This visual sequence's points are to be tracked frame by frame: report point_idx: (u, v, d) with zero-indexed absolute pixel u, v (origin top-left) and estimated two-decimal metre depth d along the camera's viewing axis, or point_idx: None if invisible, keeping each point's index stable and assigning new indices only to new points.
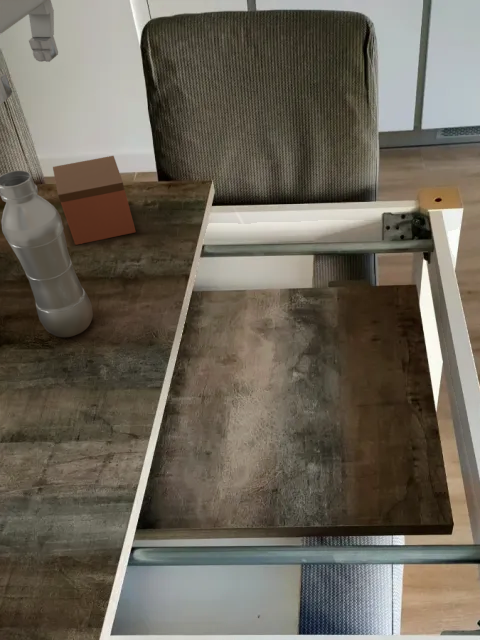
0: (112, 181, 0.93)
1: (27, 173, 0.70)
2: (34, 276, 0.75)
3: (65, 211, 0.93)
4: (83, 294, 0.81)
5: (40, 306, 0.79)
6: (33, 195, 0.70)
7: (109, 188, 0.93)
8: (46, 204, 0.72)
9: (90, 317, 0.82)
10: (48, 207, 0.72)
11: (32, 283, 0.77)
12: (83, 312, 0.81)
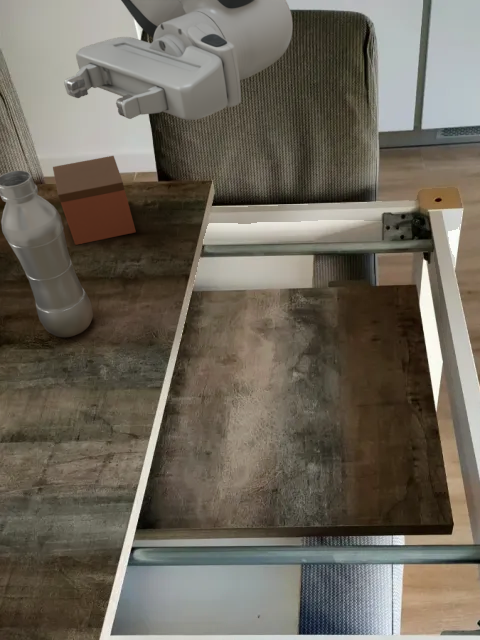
0: (112, 181, 0.93)
1: (27, 173, 0.70)
2: (34, 276, 0.75)
3: (65, 211, 0.93)
4: (83, 294, 0.81)
5: (40, 306, 0.79)
6: (33, 195, 0.70)
7: (109, 188, 0.93)
8: (46, 204, 0.72)
9: (90, 317, 0.82)
10: (48, 207, 0.72)
11: (32, 283, 0.77)
12: (83, 312, 0.81)
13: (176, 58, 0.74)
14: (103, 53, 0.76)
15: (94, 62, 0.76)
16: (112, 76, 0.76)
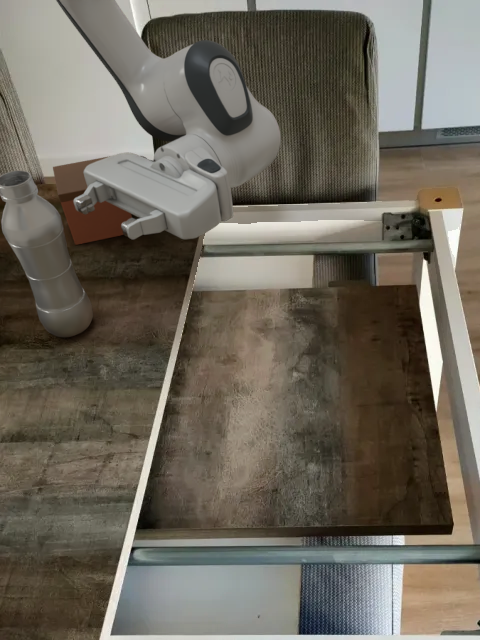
0: None
1: (27, 173, 0.70)
2: (34, 276, 0.75)
3: (65, 211, 0.93)
4: (83, 294, 0.81)
5: (40, 306, 0.79)
6: (33, 195, 0.70)
7: None
8: (46, 204, 0.72)
9: (90, 317, 0.82)
10: (48, 207, 0.72)
11: (32, 283, 0.77)
12: (83, 312, 0.81)
13: (175, 179, 0.83)
14: (109, 172, 0.84)
15: (100, 180, 0.84)
16: (116, 193, 0.85)
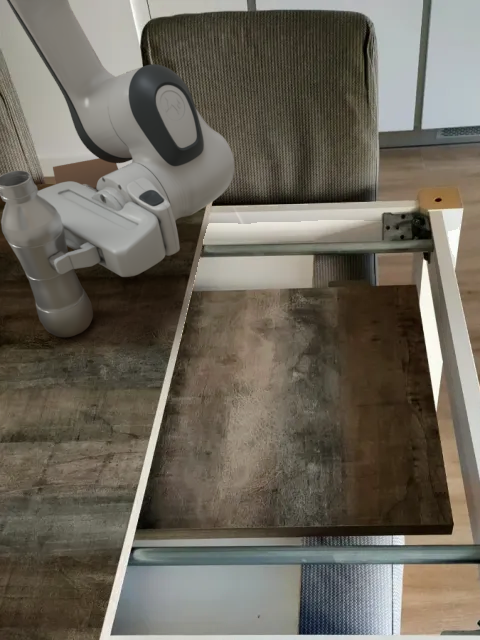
0: None
1: (27, 173, 0.70)
2: (34, 276, 0.75)
3: None
4: (83, 294, 0.81)
5: (40, 306, 0.79)
6: (33, 195, 0.70)
7: None
8: (46, 204, 0.72)
9: (90, 317, 0.82)
10: (48, 207, 0.72)
11: (32, 283, 0.77)
12: (83, 312, 0.81)
13: (116, 212, 0.78)
14: None
15: None
16: None
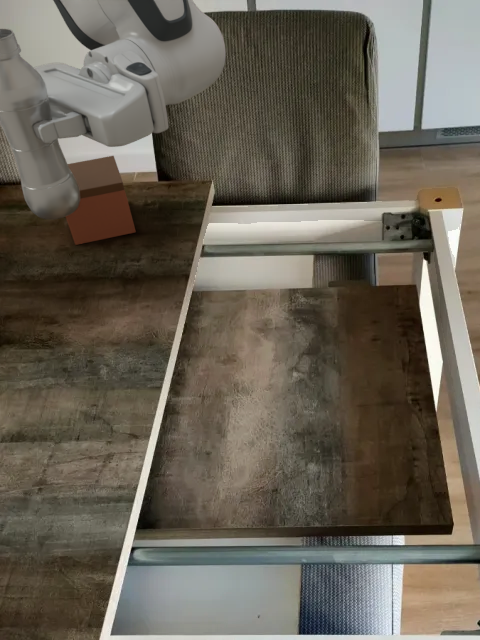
0: (112, 181, 0.93)
1: (9, 31, 0.68)
2: (18, 147, 0.73)
3: None
4: (70, 174, 0.79)
5: (25, 183, 0.77)
6: (15, 53, 0.68)
7: (109, 188, 0.93)
8: (30, 66, 0.70)
9: (77, 199, 0.80)
10: (31, 70, 0.70)
11: (17, 156, 0.75)
12: (69, 192, 0.79)
13: (103, 85, 0.76)
14: None
15: None
16: None
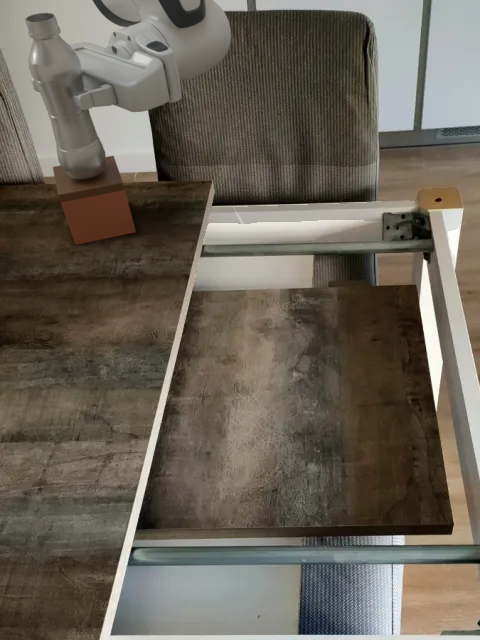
0: (112, 181, 0.93)
1: (51, 15, 0.81)
2: (56, 114, 0.86)
3: (65, 211, 0.93)
4: (98, 139, 0.92)
5: (60, 146, 0.90)
6: (56, 33, 0.81)
7: (109, 188, 0.93)
8: (67, 45, 0.83)
9: (104, 162, 0.93)
10: (69, 48, 0.83)
11: (54, 122, 0.87)
12: (98, 155, 0.92)
13: (126, 61, 0.89)
14: None
15: None
16: None
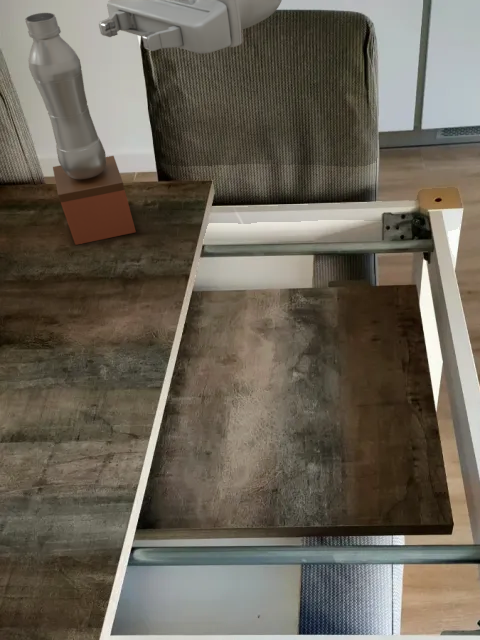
0: (112, 181, 0.93)
1: (51, 15, 0.81)
2: (56, 114, 0.86)
3: (65, 211, 0.93)
4: (98, 139, 0.92)
5: (60, 146, 0.90)
6: (57, 33, 0.81)
7: (109, 188, 0.93)
8: (67, 45, 0.83)
9: (104, 162, 0.93)
10: (69, 48, 0.83)
11: (54, 122, 0.87)
12: (98, 155, 0.92)
13: (189, 6, 0.92)
14: (130, 2, 0.94)
15: (122, 9, 0.93)
16: (137, 21, 0.94)
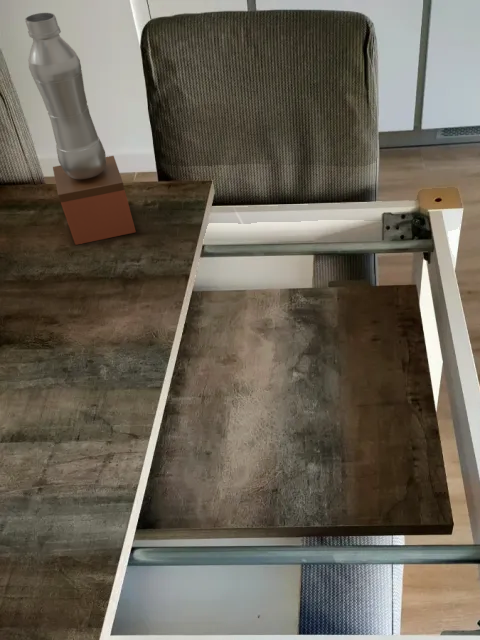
0: (112, 181, 0.93)
1: (51, 15, 0.81)
2: (56, 114, 0.86)
3: (65, 211, 0.93)
4: (98, 139, 0.92)
5: (60, 146, 0.90)
6: (56, 33, 0.81)
7: (109, 188, 0.93)
8: (67, 45, 0.83)
9: (104, 162, 0.93)
10: (69, 48, 0.83)
11: (54, 122, 0.87)
12: (98, 155, 0.92)
13: None
14: None
15: None
16: None
